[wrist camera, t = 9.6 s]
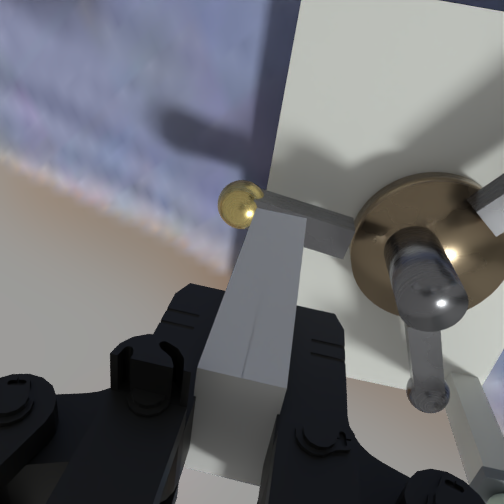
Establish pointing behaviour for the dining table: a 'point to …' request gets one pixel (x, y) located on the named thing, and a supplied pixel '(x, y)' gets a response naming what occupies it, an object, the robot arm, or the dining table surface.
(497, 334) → the stand base
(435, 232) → the capstan
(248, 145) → the dining table surface
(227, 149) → the dining table surface
